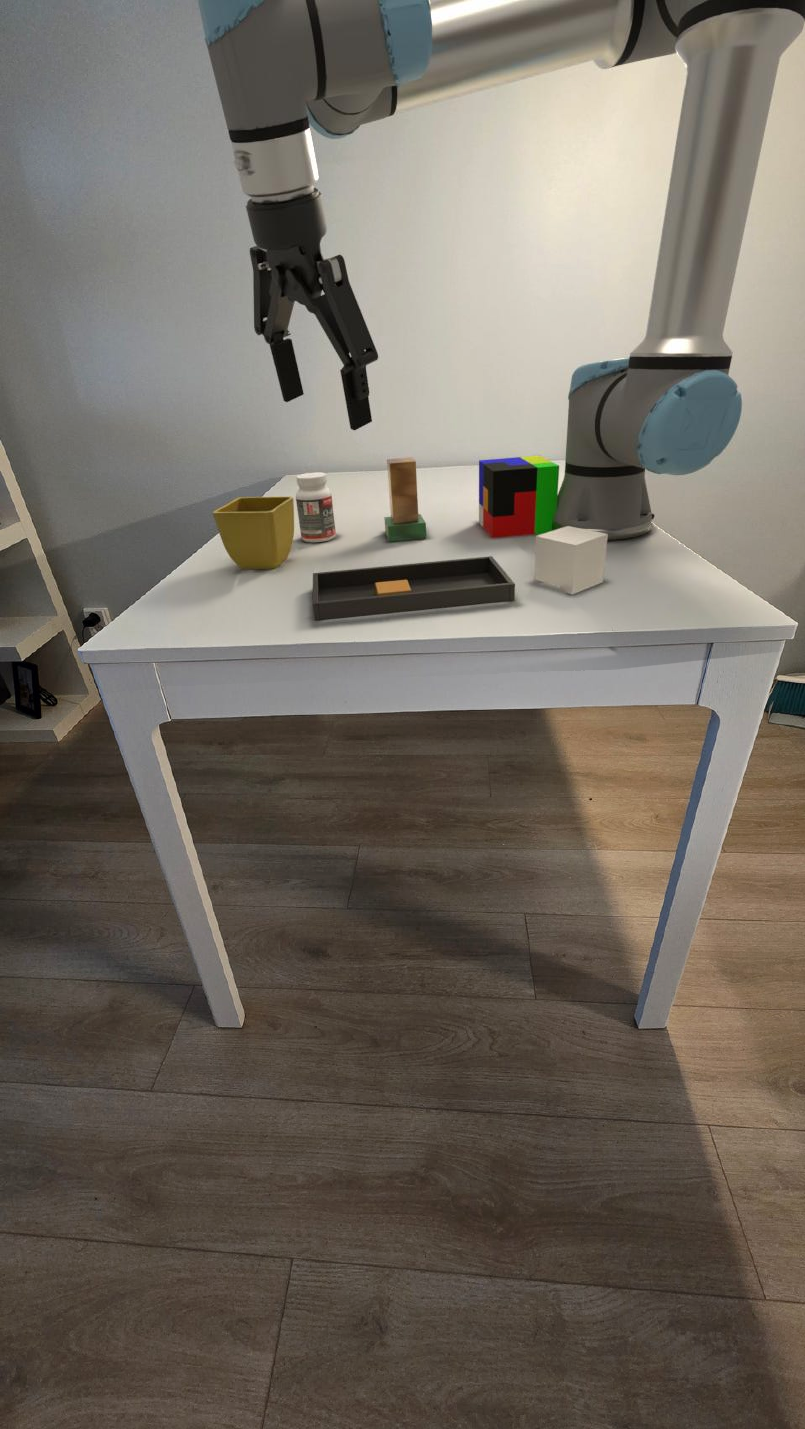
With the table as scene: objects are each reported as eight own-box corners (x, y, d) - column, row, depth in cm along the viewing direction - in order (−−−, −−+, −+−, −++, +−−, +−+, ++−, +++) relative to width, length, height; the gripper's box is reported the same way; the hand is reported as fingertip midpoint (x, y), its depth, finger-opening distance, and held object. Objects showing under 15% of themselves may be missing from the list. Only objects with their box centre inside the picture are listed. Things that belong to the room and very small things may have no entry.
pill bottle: (334, 542, 103) (326, 477, 98) (299, 544, 103) (289, 479, 98) (338, 532, 108) (331, 470, 103) (304, 534, 108) (295, 473, 103)
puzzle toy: (478, 523, 108) (478, 460, 103) (536, 518, 109) (539, 455, 104) (492, 538, 100) (493, 471, 95) (555, 533, 100) (559, 465, 95)
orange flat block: (407, 588, 80) (407, 579, 80) (411, 599, 77) (411, 590, 76) (375, 591, 80) (375, 582, 79) (378, 602, 77) (377, 593, 76)
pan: (491, 575, 84) (491, 556, 83) (514, 605, 75) (515, 583, 74) (315, 592, 83) (312, 573, 81) (315, 625, 73) (312, 603, 72)
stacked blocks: (421, 529, 107) (417, 455, 101) (426, 538, 102) (423, 461, 96) (385, 532, 106) (379, 458, 100) (388, 542, 101) (383, 465, 95)
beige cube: (533, 583, 81) (535, 536, 78) (564, 572, 84) (567, 525, 81) (572, 594, 77) (575, 544, 74) (603, 582, 80) (608, 533, 77)
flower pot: (281, 577, 89) (271, 511, 85) (224, 576, 91) (210, 511, 86) (303, 557, 97) (294, 496, 92) (249, 557, 98) (238, 497, 94)
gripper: (186, 194, 68) (245, 398, 84) (330, 213, 55) (368, 452, 70) (244, 176, 71) (291, 377, 87) (394, 190, 57) (417, 425, 73)
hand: (326, 411), depth 79 cm, fingers open, 13 cm apart
